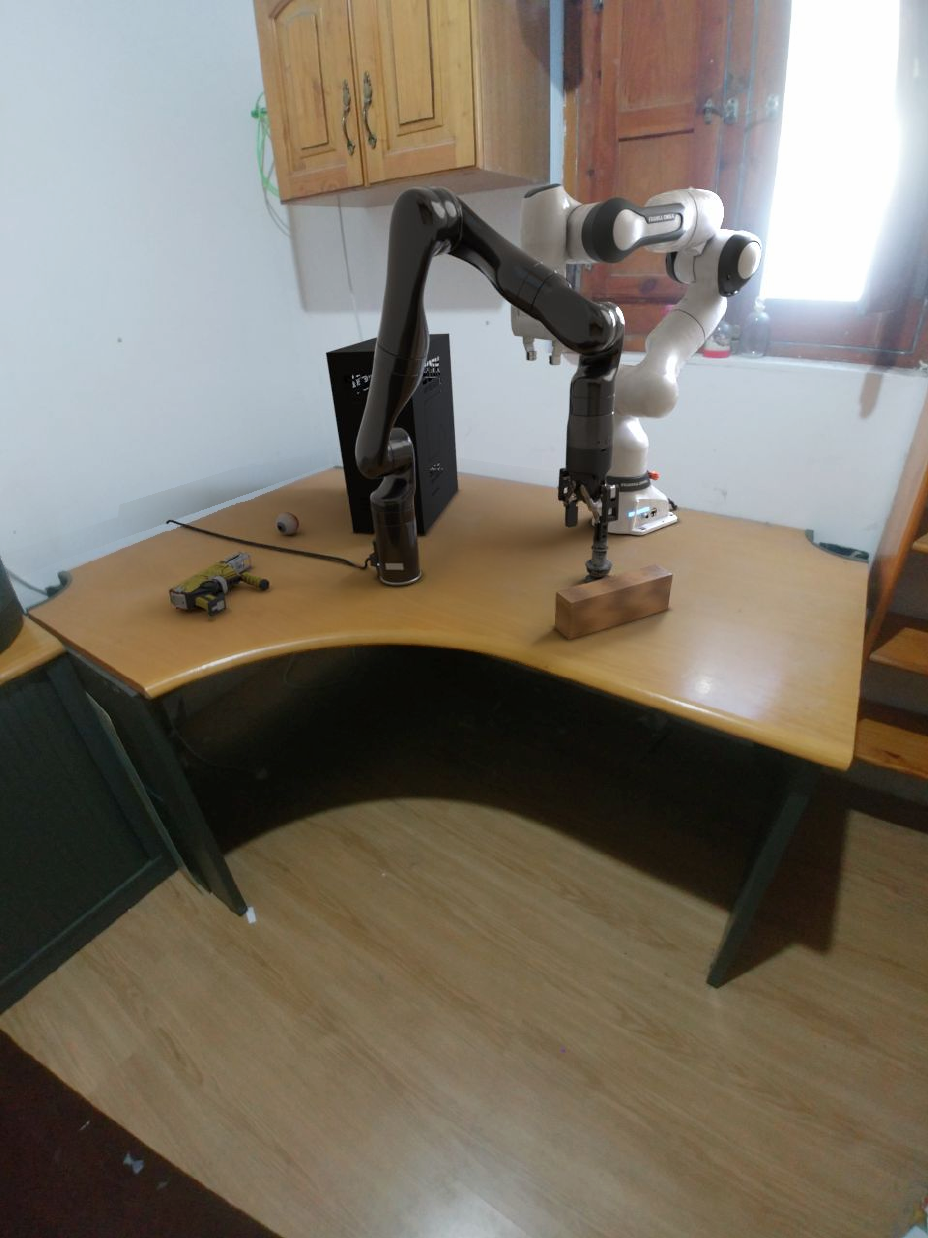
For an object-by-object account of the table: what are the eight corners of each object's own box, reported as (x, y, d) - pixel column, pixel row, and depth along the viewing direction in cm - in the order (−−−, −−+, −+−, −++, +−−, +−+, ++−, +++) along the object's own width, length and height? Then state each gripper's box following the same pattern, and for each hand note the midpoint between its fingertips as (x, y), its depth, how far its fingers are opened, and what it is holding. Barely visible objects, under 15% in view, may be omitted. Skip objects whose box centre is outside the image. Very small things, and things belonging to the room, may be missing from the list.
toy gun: (290, 560, 142) (237, 549, 146) (223, 603, 122) (163, 589, 126) (292, 578, 144) (239, 566, 148) (226, 623, 124) (167, 609, 128)
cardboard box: (424, 535, 159) (408, 350, 137) (353, 532, 164) (325, 352, 141) (458, 489, 191) (449, 333, 168) (397, 488, 195) (380, 335, 173)
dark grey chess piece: (611, 585, 129) (615, 533, 123) (583, 584, 130) (586, 532, 124) (611, 573, 134) (615, 522, 128) (584, 572, 135) (587, 521, 129)
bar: (651, 599, 123) (655, 564, 119) (668, 609, 119) (673, 574, 115) (554, 627, 116) (555, 591, 112) (569, 640, 112) (571, 602, 108)
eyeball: (273, 537, 164) (268, 516, 161) (287, 528, 169) (282, 508, 166) (291, 539, 161) (286, 518, 158) (305, 530, 166) (301, 510, 163)
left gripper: (546, 435, 102) (545, 526, 110) (596, 453, 90) (591, 553, 98) (583, 429, 104) (579, 518, 112) (637, 446, 93) (628, 543, 101)
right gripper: (586, 284, 110) (584, 365, 117) (531, 285, 127) (531, 356, 134) (557, 287, 108) (556, 369, 115) (504, 287, 125) (506, 359, 132)
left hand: (585, 534), depth 105 cm, fingers open, 8 cm apart
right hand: (542, 362), depth 124 cm, fingers open, 8 cm apart
